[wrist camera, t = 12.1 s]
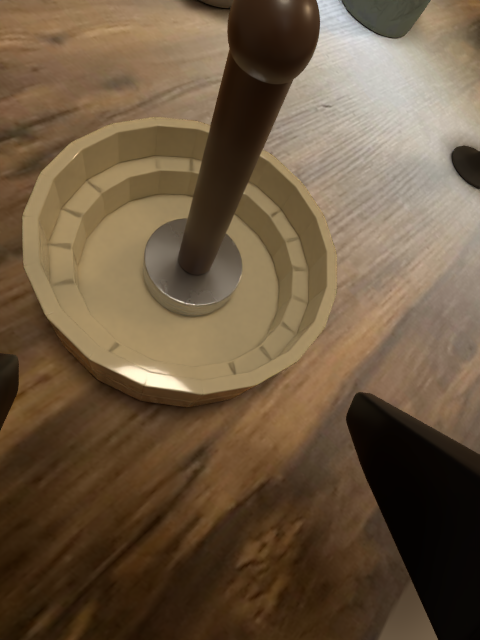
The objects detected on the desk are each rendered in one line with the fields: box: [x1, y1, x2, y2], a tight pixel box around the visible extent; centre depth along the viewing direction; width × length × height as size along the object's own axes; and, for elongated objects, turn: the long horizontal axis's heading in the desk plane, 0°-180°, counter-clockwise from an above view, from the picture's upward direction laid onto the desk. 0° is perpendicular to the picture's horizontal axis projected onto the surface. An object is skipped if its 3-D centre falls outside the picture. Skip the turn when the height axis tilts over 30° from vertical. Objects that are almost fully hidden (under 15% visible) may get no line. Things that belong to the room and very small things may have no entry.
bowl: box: [22, 117, 337, 407], centre depth 18 cm, size 14×14×4 cm
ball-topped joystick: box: [143, 0, 320, 317], centre depth 14 cm, size 5×5×14 cm
